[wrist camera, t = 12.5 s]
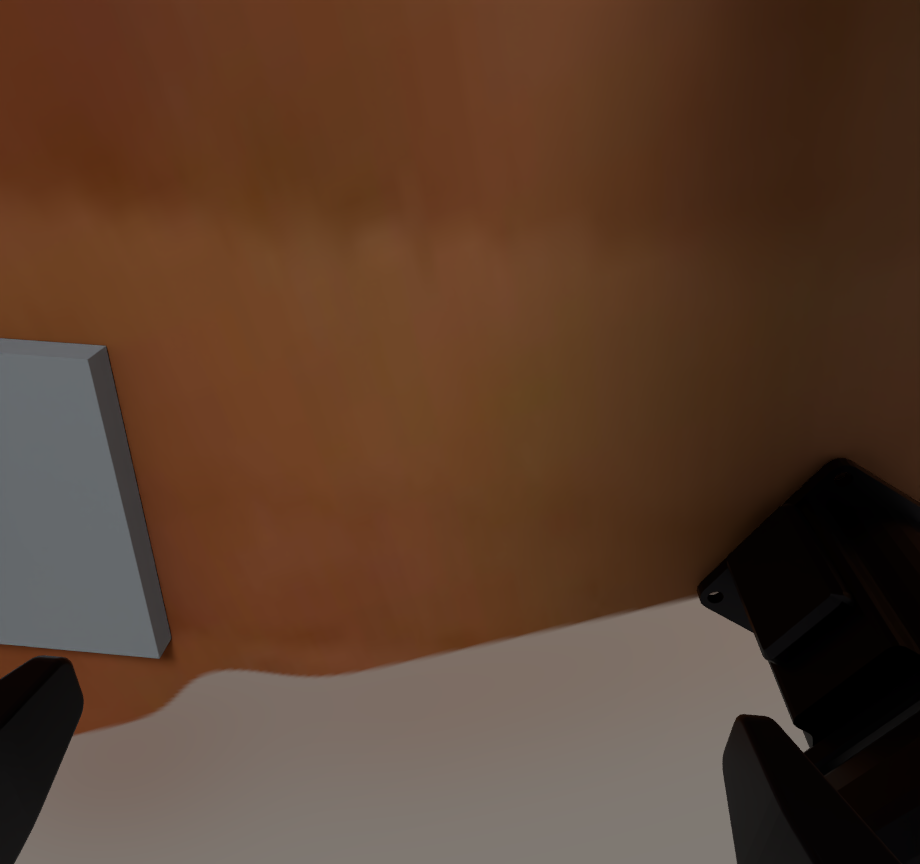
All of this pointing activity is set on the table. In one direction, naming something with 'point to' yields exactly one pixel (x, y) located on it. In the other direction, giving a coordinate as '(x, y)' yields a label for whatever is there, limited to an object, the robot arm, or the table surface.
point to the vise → (71, 509)
